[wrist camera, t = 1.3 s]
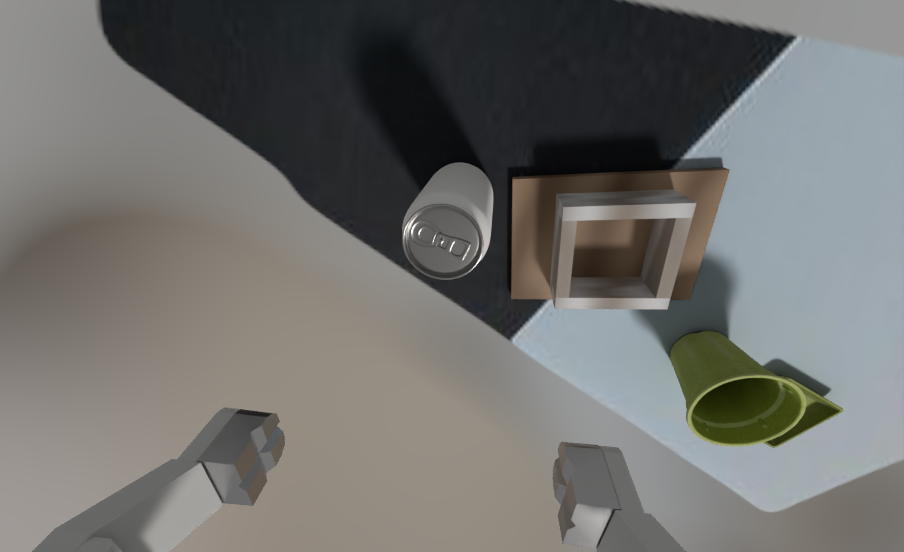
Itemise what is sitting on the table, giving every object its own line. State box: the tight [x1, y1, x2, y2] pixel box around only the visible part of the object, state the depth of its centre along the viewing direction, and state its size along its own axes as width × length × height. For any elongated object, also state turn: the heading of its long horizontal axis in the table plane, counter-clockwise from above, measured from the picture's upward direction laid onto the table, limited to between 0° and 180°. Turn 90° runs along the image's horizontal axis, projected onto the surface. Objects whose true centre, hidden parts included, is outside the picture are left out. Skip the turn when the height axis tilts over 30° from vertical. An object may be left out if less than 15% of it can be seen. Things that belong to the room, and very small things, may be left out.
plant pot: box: [670, 331, 806, 446], centre depth 35 cm, size 9×9×9 cm
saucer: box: [763, 376, 843, 448], centre depth 41 cm, size 9×9×2 cm
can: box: [402, 163, 493, 280], centre depth 28 cm, size 6×6×12 cm
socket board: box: [511, 167, 729, 309], centre depth 32 cm, size 18×13×6 cm
